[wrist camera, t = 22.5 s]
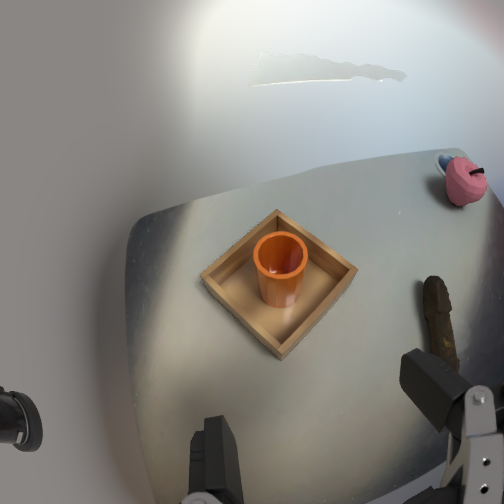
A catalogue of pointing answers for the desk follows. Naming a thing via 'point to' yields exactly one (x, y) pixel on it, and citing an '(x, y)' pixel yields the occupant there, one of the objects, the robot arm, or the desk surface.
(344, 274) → the wooden tray
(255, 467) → the desk surface
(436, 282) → the dark brown long bar
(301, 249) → the orange cup
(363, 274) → the desk surface
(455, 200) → the apple
